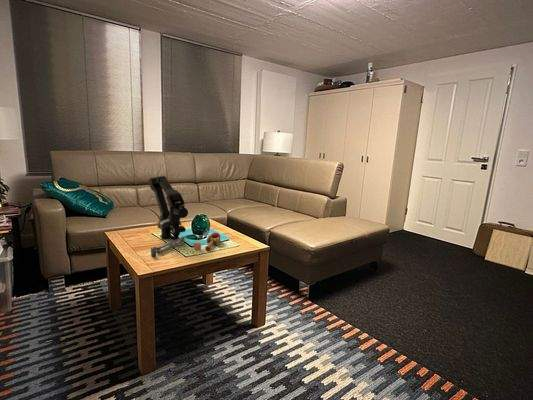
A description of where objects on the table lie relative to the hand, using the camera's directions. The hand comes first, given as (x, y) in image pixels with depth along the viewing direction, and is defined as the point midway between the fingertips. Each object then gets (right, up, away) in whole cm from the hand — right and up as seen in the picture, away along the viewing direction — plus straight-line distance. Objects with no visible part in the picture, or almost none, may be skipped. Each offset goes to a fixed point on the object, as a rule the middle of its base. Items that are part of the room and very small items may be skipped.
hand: (175, 240), depth 169 cm
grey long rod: (+1, -3, -10) cm, 10 cm away
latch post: (+15, -4, -10) cm, 19 cm away
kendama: (+22, -3, -3) cm, 23 cm away
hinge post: (-5, -5, -21) cm, 22 cm away
